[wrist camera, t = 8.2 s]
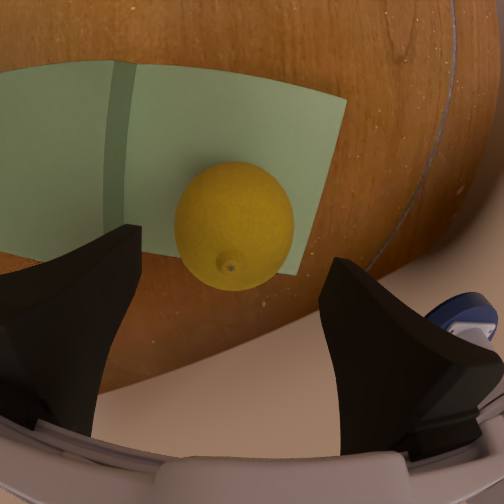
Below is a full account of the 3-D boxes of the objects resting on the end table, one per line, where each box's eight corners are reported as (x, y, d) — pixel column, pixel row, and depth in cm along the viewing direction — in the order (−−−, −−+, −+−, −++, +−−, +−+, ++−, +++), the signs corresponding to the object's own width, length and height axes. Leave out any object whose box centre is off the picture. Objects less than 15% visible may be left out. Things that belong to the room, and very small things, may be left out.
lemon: (296, 165, 17) (334, 224, 10) (264, 245, 19) (275, 337, 13) (204, 136, 16) (172, 174, 9) (180, 221, 18) (146, 305, 12)
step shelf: (294, 269, 21) (311, 335, 16) (-77, 206, 17) (-112, 234, 11) (343, 99, 16) (392, 107, 10) (-84, 101, 11) (-126, 118, 5)
